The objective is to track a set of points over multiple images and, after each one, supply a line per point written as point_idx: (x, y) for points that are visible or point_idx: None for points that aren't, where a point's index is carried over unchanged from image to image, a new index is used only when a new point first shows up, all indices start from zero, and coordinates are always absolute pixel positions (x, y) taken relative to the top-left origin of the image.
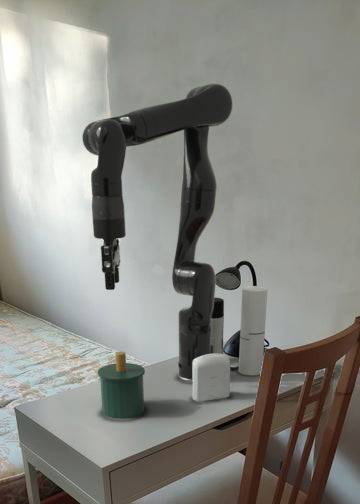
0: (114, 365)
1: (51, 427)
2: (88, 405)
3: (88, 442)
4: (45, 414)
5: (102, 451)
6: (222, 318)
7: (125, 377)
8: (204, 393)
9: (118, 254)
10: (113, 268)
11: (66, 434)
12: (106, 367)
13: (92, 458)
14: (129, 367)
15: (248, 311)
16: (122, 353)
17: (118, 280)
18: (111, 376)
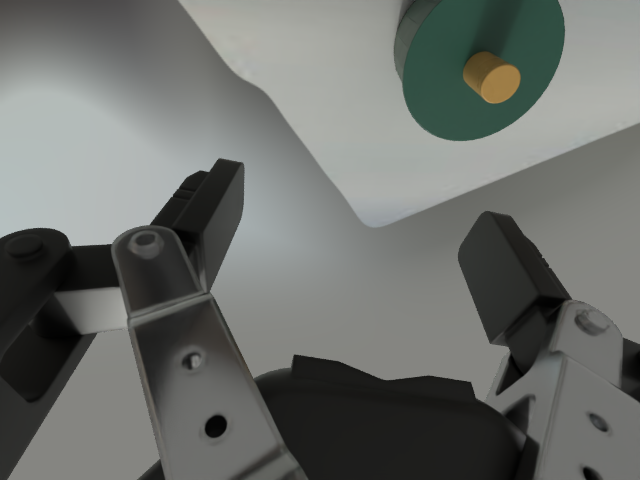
0: (421, 88)
1: (455, 192)
2: (379, 126)
3: (554, 132)
4: (396, 201)
5: (610, 108)
6: None
7: (550, 60)
8: None
9: (264, 412)
10: (620, 354)
11: (497, 169)
12: (430, 114)
13: (624, 128)
14: (462, 35)
15: None
16: (511, 77)
17: (238, 169)
18: (514, 105)
